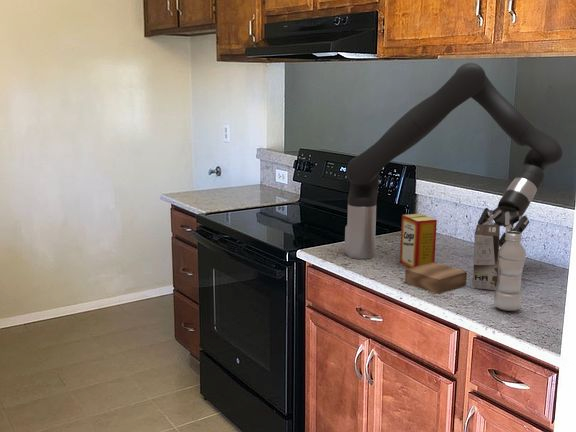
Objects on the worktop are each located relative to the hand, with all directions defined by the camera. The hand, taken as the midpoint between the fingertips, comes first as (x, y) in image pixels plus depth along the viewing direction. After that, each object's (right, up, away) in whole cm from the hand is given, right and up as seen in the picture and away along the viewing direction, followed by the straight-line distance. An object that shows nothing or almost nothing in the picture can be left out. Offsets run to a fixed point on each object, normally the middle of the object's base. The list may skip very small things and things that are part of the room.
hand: (489, 242), depth 174 cm
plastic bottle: (-1, -16, -17) cm, 24 cm away
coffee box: (-1, -12, +1) cm, 12 cm away
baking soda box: (-17, -8, +19) cm, 27 cm away
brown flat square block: (-15, -12, +2) cm, 19 cm away
